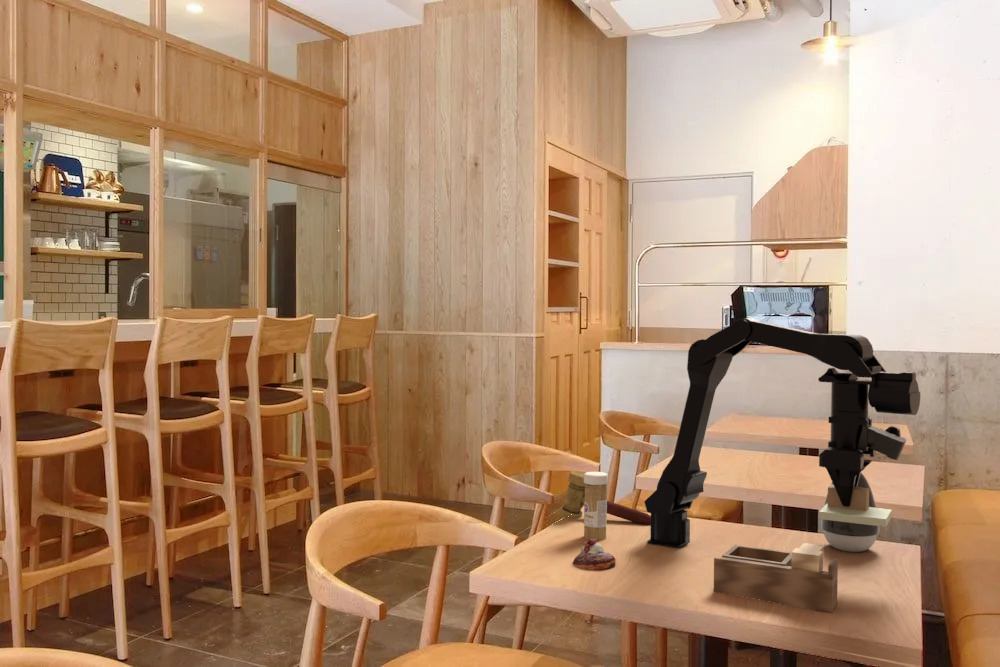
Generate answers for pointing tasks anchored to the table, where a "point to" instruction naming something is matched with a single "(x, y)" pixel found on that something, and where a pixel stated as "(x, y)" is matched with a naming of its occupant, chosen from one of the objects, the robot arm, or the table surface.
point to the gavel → (577, 499)
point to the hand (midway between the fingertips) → (847, 504)
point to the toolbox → (775, 578)
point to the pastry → (594, 557)
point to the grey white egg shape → (851, 529)
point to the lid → (854, 509)
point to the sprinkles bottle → (595, 505)
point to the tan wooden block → (808, 557)
